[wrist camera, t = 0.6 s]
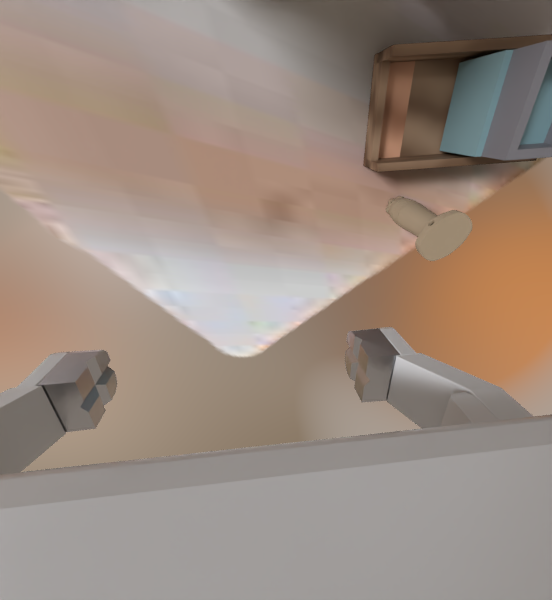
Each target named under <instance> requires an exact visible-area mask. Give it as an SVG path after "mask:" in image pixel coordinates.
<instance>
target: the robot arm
mask: <svg viewBox="0 0 552 600" xmlns="http://www.w3.org/2000/svg"><path fill="white" fill-rule="evenodd" d="M347 343H348V345H349V348H348V350H347V351H346V352H345V365H346V370H347V373H348V375H349V377H350V379H352V380H354V381H355V390H356V392H357V394H358V396H359V397H360V400H361V401H362V402H371V401H385V400H386V401H387V402H388V403H389V404H391V405H392V406H393V407H395V408H396V409H397V410H399V411H400V412H401V413H403V414H404V415H405V416H406V417H408V418H409V419H410V420H412V421H413V422H414V423H415V424H417V425H418V426H419V427H421V428H422V429H414V430H405V431H396V432H387V433H378V434H370V435H360V436H351V437H341V438H332V439H323V440H314V441H304V442H294V443H285V444H275V445H267V446H257V447H248V448H238V449H230V450H221V451H211V452H203V453H193V454H184V455H174V456H166V457H156V458H147V459H138V460H129V461H119V462H111V463H101V464H92V465H82V466H73V467H64V468H56V469H45V470H36V471H27V472H21V471H22V470H24V469H25V468H26V467H27V466H28V465H29V464H31V463H32V462H33V461H34V460H35V459H36V458H38V457H39V456H40V455H41V454H42V453H44V452H45V451H46V450H47V449H48V448H49V447H50V446H52V445H53V444H54V443H55V442H56V441H58V440H59V439H60V438H61V437H62V436H63V435H65V432H70V431H79V430H87V429H95V428H96V427H97V425H98V423H99V422H100V420H101V418H102V416H103V414H104V412H105V408H104V405H105V404H107V403H108V402H109V401H111V400H112V398H113V396H114V394H115V392H116V387H117V380H116V375H115V372H114V371H113V370H112V369H111V368H109V367H108V364H109V362H110V358H109V356H108V353H107V352H106V351H104V350H92V351H74V352H61V353H54V354H50V355H49V356H48V357H47V358H46V359H45V360H44V361H43V362H42V363H41V364H40V365H39V366H38V367H37V368H36V369H35V370H34V371H33V372H32V373H31V374H30V375H29V376H28V377H27V378H26V379H25V380H24V381H23V382H22V383H21V384H20V385H19V386H18V387H16V388H10V389H8V390H6V391H4V392H2V393H0V600H552V415H543V416H532V415H531V414H530V413H529V412H528V411H527V410H526V409H525V408H523V407H522V406H521V405H520V404H519V403H518V402H517V401H516V400H514V399H513V398H512V397H511V396H510V395H509V394H507V393H506V392H505V391H504V390H503V389H502V388H500V387H498V386H496V385H493V384H491V383H489V382H486V381H484V380H482V379H479V378H477V377H475V376H472V375H470V374H468V373H466V372H463V371H461V370H458V369H456V368H454V367H452V366H449V365H447V364H445V363H442V362H440V361H438V360H436V359H433V358H431V357H428V356H426V355H424V354H422V353H419V354H417V353H416V352H415V351H414V350H413V349H412V348H411V347H410V346H409V345H408V344H407V343H406V341H405V340H404V339H403V338H402V337H401V336H400V335H399V334H398V333H397V332H396V330H395V329H394V328H392V327H385V328H377V329H368V330H359V331H349V332H348V335H347Z"/></svg>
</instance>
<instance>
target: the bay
mask: <svg viewBox="0 0 552 600" xmlns="http://www.w3.org/2000/svg"><path fill="white" fill-rule="evenodd" d="M551 40H552V34H551V35H536V36H520V37H505V38H489V39H474V40H458V41H443V42H427V43H411V44H396V45H392V46H390V47H388V48H387V49H385V50H383V51H381V52H379V53H377V54H375V56H374V66H373V76H372V86H371V96H370V105H369V115H368V125H367V135H366V145H365V155H364V164H363V166H365V167H368V168H370V169H372V170H374V171H377V172H383V171H397V170H410V169H424V168H438V167H451V166H465V165H479V164H492V163H506V162H520V161H533V160H536V159H537V158H532V159H519V160H499V159H494V158H488V157H482V156H480V157H473V156H467V155H461V154H456V153H450V152H444V151H439V150H440V146H441V141H442V137H443V133H444V128H445V124H446V120H447V115H448V111H449V107H450V102H451V98H452V94H453V89H454V85H455V81H456V76H457V72H458V68H459V63H461V62H464V61H468V60H472V59H475V58H479V57H483V56H486V55H490V54H494V53H497V52H501V51H505V50H514V49H518V48H522V47H525V46H529V45H533V44H537V43H540V42H544V41H551Z"/></svg>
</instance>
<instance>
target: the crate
mask: <svg viewBox="0 0 552 600" xmlns="http://www.w3.org/2000/svg"><path fill="white" fill-rule="evenodd" d="M439 151H444V152H450V153H456V154H461V155H467V156H473V157H480V156H482V157H488V158H494V159H499V160H519V159H532V158H546V157H552V40H551V41H544V42H540V43H537V44H533V45H529V46H525V47H522V48H518V49H514V50H505V51H501V52H497V53H494V54H490V55H486V56H483V57H479V58H475V59H472V60H468V61H464V62H461V63H459V68H458V72H457V76H456V81H455V85H454V89H453V94H452V98H451V102H450V107H449V111H448V115H447V120H446V124H445V128H444V133H443V137H442V141H441V146H440V150H439Z"/></svg>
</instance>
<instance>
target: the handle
mask: <svg viewBox="0 0 552 600" xmlns="http://www.w3.org/2000/svg"><path fill="white" fill-rule="evenodd" d="M386 212H387V213H389V215H390V217H391V218H392V219H393V221H394V222H395V223H396V224H398V225H399V226H400V227H402V228H403V229H405V230H407V231H409V232H411V233H412V234H414V235H416V236H417V237H418V238H417V240H416V244H415V245H416V249H417V251H418V252H419V253H420V254H421V255H422V256H423V257H424V258H425V259H427V260H430V261H435V260H438V259H440V258H443V257H445V256H447V255H449V254H450V253H452V252H453V251H454V250H456V249H457V248H458V247H459V246H460V245H461V244H462V243H463V242H464V241H465V239H466V238H467V236H468V235H469V233H470V232H471V230H472V222H471V219H470V218H469V217H468V216H467V215H466V214H464V213H462V212H460V211H457V210H451V211H448V212H445V213H443V214H440V215H438V216H437V215H436V214H434V213H432V212H431V211H430V210H428V209H427V208H425V207H424V206H423V205H421V204H419V203H418V202H416V201H413V200H411V199H407V198H404V197H401V196H398V197H397V198H395V199H390V200H389V201H388V206H387V208H386Z"/></svg>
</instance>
